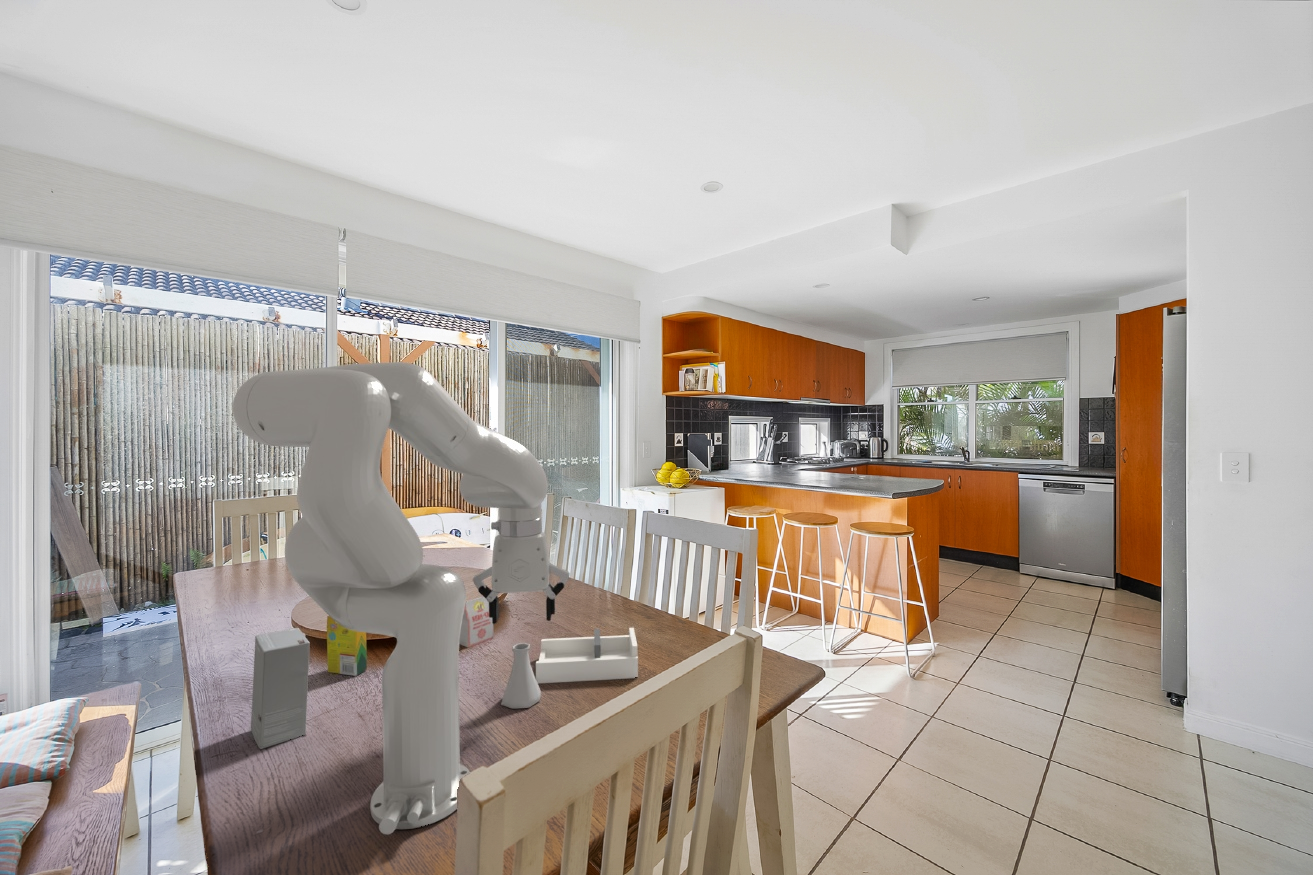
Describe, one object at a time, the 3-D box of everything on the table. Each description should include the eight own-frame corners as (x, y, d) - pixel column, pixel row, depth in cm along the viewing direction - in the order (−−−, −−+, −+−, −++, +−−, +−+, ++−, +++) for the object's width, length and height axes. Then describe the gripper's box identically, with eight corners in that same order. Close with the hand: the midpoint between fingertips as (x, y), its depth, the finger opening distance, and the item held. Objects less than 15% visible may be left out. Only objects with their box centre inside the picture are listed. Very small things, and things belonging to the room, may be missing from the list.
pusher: (600, 669, 109) (600, 644, 109) (594, 669, 109) (594, 645, 109) (599, 651, 118) (599, 628, 118) (594, 651, 118) (594, 629, 117)
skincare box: (249, 730, 90) (248, 635, 89) (300, 714, 95) (299, 624, 94) (259, 752, 84) (257, 650, 83) (312, 733, 89) (311, 638, 88)
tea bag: (458, 643, 125) (458, 600, 125) (484, 634, 131) (483, 593, 130) (468, 647, 123) (467, 604, 123) (493, 638, 128) (493, 596, 128)
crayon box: (367, 670, 112) (366, 614, 111) (356, 676, 109) (355, 619, 109) (338, 666, 114) (337, 611, 113) (326, 672, 111) (325, 615, 111)
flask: (531, 712, 96) (531, 656, 95) (493, 707, 97) (493, 652, 97) (547, 692, 103) (547, 640, 102) (512, 688, 104) (511, 637, 104)
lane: (637, 677, 108) (637, 648, 108) (535, 683, 106) (535, 653, 106) (633, 652, 120) (633, 625, 120) (541, 657, 118) (541, 629, 118)
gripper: (467, 533, 94) (469, 630, 95) (567, 530, 96) (569, 624, 97) (476, 524, 102) (478, 614, 103) (569, 522, 104) (570, 609, 105)
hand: (522, 619), depth 100 cm, fingers open, 9 cm apart
